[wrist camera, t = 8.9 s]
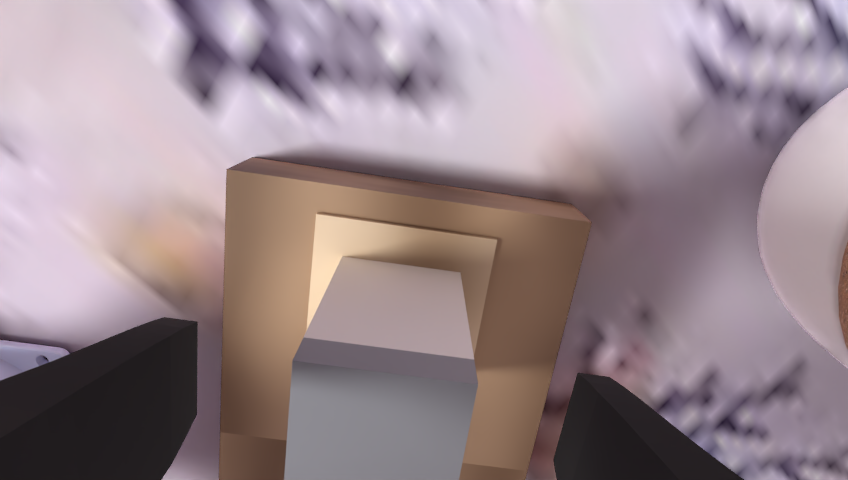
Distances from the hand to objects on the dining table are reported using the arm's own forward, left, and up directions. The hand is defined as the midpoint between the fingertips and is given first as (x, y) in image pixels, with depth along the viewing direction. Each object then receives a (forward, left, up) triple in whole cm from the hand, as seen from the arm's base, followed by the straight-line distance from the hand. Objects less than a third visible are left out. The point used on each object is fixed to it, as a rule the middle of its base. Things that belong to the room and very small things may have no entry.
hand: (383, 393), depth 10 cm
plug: (0, -2, -8) cm, 8 cm away
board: (0, -7, -10) cm, 13 cm away
